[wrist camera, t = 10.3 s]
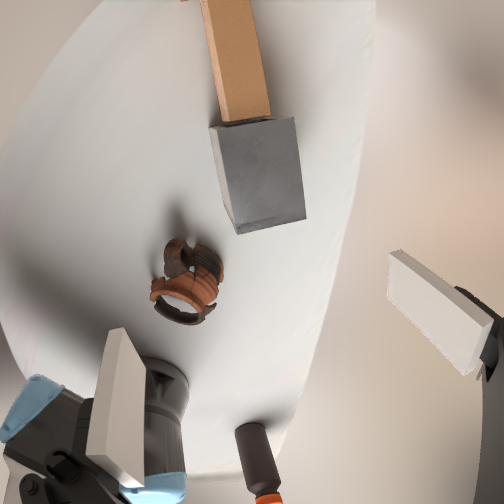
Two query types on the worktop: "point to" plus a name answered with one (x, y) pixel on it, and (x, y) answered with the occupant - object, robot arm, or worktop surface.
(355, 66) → the worktop surface
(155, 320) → the worktop surface
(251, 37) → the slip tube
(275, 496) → the bottle
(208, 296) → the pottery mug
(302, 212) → the sleeve
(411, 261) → the robot arm
